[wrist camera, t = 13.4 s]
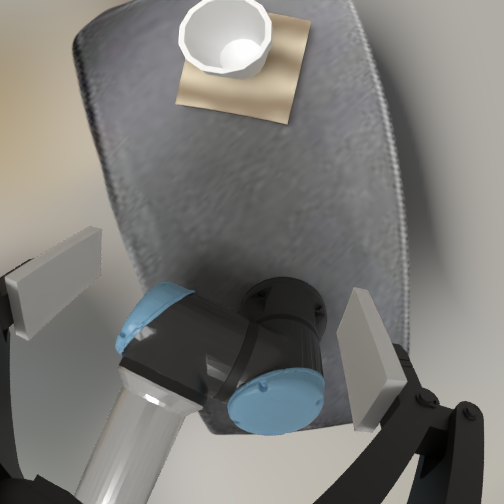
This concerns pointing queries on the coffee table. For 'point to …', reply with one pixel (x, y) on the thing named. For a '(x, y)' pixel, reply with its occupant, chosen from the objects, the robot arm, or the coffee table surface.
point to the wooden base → (254, 78)
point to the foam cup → (227, 37)
